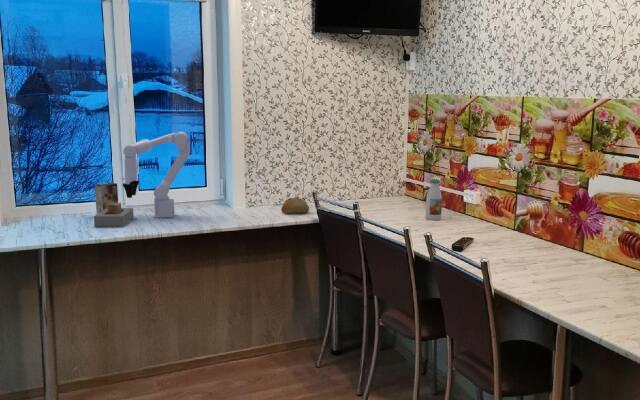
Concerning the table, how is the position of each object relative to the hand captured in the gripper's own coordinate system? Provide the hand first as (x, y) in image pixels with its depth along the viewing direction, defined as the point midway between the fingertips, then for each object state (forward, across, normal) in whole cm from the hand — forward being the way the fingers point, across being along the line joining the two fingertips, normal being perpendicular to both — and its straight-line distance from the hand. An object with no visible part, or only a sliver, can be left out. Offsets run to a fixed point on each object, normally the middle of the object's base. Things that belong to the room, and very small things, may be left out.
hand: (131, 196), depth 289 cm
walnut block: (+11, +12, -5) cm, 17 cm away
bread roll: (+9, -7, +82) cm, 83 cm away
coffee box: (+11, -5, -13) cm, 18 cm away
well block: (+11, +12, -5) cm, 17 cm away
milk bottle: (+7, +10, +151) cm, 151 cm away
